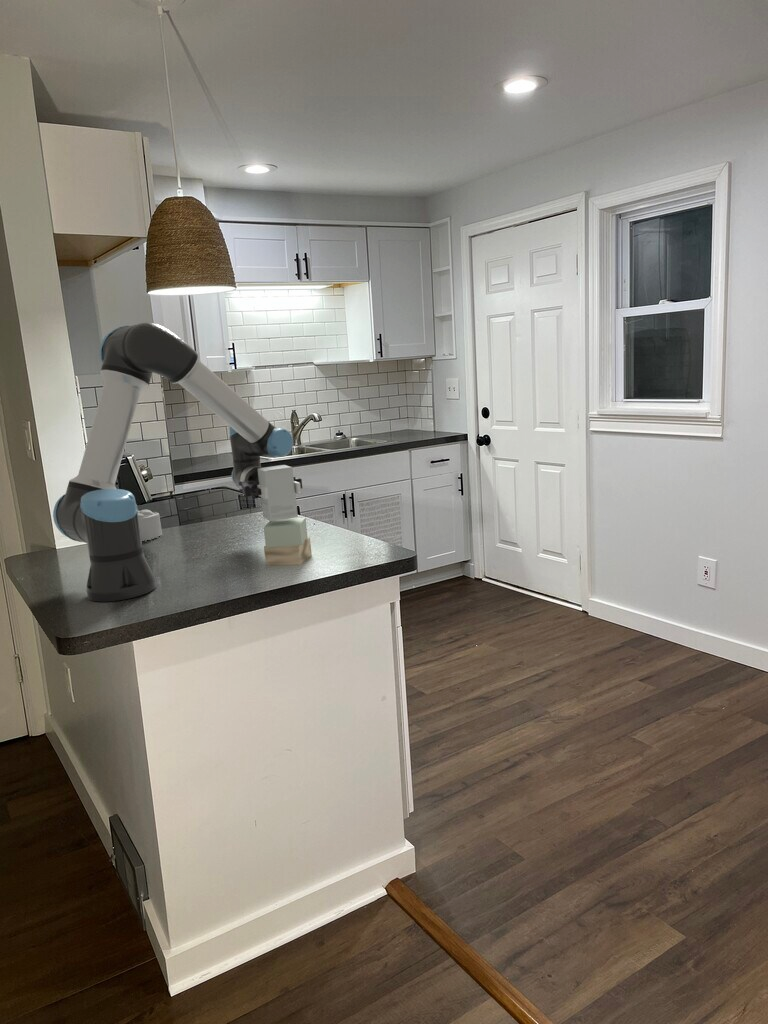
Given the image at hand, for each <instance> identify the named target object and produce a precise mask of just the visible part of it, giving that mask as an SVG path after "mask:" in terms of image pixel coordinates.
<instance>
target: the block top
mask: <svg viewBox="0 0 768 1024" xmlns="http://www.w3.org/2000/svg"><path fill="white" fill-rule="evenodd" d="M306 520H307V519H306V517H295V518H289V519H282V520H275V521H269V520H268V521H269V522H267V524H265V525H264V526H263V534H264V535H263V536H264V541H265V542H264V543H265V544H264V545H265V546H266V547H278V546H292V545H302V544H303V542H304V541H305V540H306V538H307V537H309V536H308V527H307V521H306Z"/></svg>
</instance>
